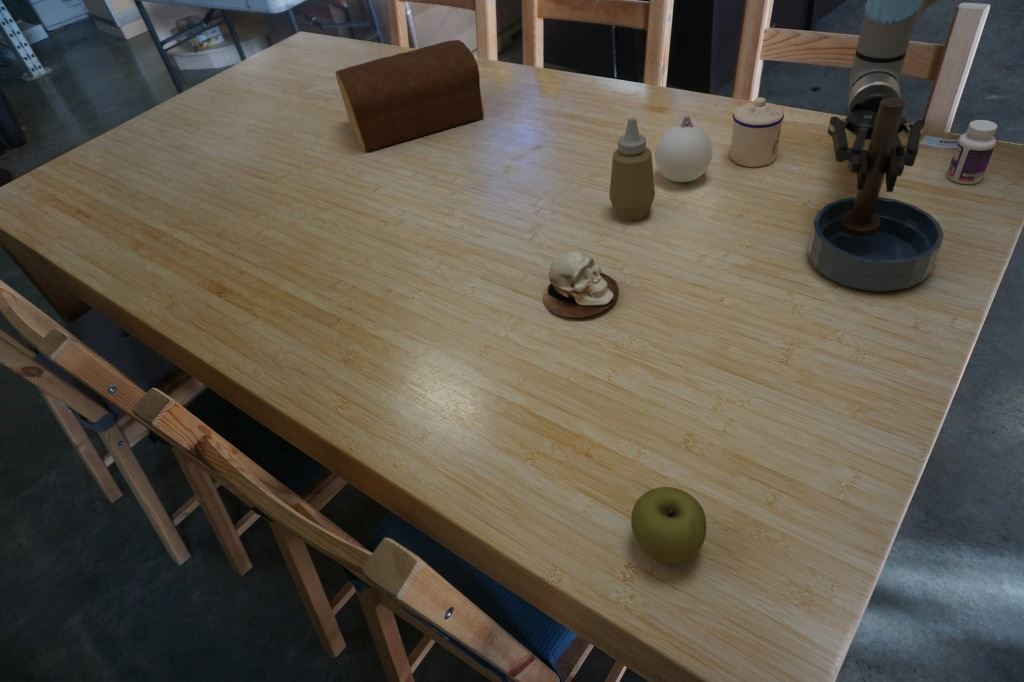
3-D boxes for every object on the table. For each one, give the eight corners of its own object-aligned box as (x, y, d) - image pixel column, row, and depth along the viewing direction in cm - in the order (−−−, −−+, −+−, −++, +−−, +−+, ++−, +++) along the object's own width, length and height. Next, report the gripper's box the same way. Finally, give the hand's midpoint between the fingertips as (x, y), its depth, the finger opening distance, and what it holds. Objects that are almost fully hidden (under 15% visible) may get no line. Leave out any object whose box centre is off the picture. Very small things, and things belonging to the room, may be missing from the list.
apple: (680, 591, 70) (683, 556, 65) (616, 548, 74) (615, 512, 70) (717, 539, 74) (723, 503, 69) (654, 501, 78) (656, 464, 73)
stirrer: (887, 229, 102) (926, 103, 89) (857, 241, 101) (893, 115, 88) (859, 212, 106) (893, 89, 93) (830, 223, 105) (860, 100, 91)
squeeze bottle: (608, 202, 125) (605, 110, 113) (651, 198, 125) (653, 105, 112) (611, 227, 120) (609, 132, 107) (657, 223, 119) (660, 127, 107)
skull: (638, 280, 106) (612, 264, 97) (608, 338, 107) (580, 328, 99) (579, 253, 112) (549, 236, 104) (551, 308, 114) (520, 296, 105)
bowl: (958, 269, 100) (971, 236, 96) (865, 309, 97) (875, 277, 93) (868, 216, 113) (877, 185, 108) (783, 250, 109) (789, 219, 105)
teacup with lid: (782, 166, 127) (792, 107, 119) (733, 170, 128) (740, 112, 120) (767, 136, 136) (776, 80, 128) (721, 141, 137) (727, 85, 129)
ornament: (692, 159, 133) (696, 101, 125) (720, 182, 126) (726, 122, 118) (645, 173, 132) (646, 115, 123) (670, 197, 124) (673, 137, 116)
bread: (350, 126, 165) (330, 60, 154) (463, 94, 170) (452, 28, 159) (365, 156, 152) (344, 86, 141) (487, 120, 158) (477, 51, 147)
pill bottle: (988, 176, 116) (1009, 124, 110) (970, 188, 115) (990, 135, 108) (957, 166, 120) (976, 114, 113) (939, 177, 118) (957, 125, 112)
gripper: (923, 131, 108) (934, 210, 93) (816, 126, 113) (809, 200, 98) (938, 85, 103) (952, 161, 87) (824, 82, 108) (819, 154, 93)
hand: (877, 182), depth 93 cm, fingers closed on stirrer, 3 cm apart
